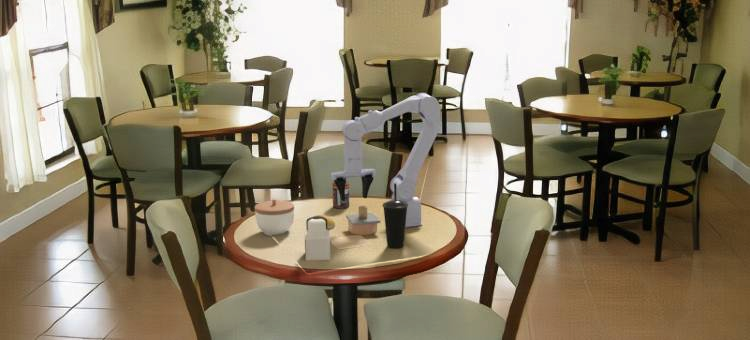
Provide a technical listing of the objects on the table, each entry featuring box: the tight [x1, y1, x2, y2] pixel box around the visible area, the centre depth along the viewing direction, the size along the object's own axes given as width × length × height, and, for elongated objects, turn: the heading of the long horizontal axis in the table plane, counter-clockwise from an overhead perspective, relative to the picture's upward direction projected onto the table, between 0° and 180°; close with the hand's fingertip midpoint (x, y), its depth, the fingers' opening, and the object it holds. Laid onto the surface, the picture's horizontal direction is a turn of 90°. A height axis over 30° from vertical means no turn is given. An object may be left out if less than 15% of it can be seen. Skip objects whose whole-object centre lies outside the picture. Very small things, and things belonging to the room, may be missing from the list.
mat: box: [330, 234, 373, 251], centre depth 237 cm, size 11×11×1 cm
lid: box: [345, 205, 381, 225], centre depth 247 cm, size 9×9×4 cm
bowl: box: [347, 219, 378, 236], centre depth 248 cm, size 9×9×4 cm
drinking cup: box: [382, 183, 408, 250], centre depth 231 cm, size 8×8×20 cm
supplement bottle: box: [332, 178, 350, 209], centre depth 276 cm, size 6×6×11 cm
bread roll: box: [313, 214, 336, 231], centre depth 253 cm, size 8×9×4 cm
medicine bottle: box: [304, 215, 331, 261], centre depth 224 cm, size 7×7×12 cm
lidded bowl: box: [254, 198, 295, 237], centre depth 247 cm, size 13×13×11 cm
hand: (353, 198), depth 250 cm, fingers open, 7 cm apart
